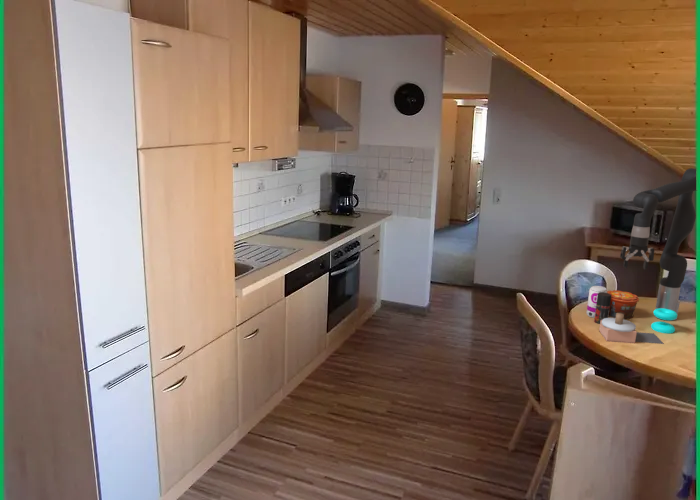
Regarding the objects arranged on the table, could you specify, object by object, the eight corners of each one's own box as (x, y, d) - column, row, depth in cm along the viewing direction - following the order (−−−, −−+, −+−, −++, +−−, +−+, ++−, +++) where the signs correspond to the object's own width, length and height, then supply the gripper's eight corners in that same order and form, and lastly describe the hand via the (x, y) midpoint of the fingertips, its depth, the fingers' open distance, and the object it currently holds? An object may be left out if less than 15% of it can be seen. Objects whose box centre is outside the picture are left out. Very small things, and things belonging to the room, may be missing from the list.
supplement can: (602, 320, 274) (606, 291, 270) (584, 316, 278) (588, 288, 274) (604, 315, 281) (608, 287, 277) (587, 311, 285) (591, 284, 281)
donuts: (657, 305, 267) (680, 311, 260) (653, 325, 269) (676, 330, 262) (651, 310, 259) (674, 316, 253) (647, 330, 262) (671, 336, 255)
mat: (653, 334, 257) (653, 333, 257) (663, 344, 246) (664, 343, 246) (626, 332, 259) (626, 331, 259) (635, 342, 247) (635, 341, 247)
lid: (629, 321, 257) (631, 310, 255) (640, 332, 243) (642, 321, 242) (597, 319, 258) (599, 307, 257) (606, 330, 245) (608, 318, 244)
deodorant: (608, 326, 266) (612, 296, 263) (595, 324, 268) (599, 295, 264) (605, 321, 272) (609, 292, 268) (592, 320, 273) (596, 291, 269)
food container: (642, 320, 275) (645, 300, 272) (609, 319, 275) (612, 299, 272) (627, 309, 290) (630, 290, 287) (596, 308, 290) (599, 289, 288)
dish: (625, 333, 257) (627, 321, 256) (634, 344, 246) (636, 331, 244) (598, 331, 259) (600, 320, 257) (606, 342, 247) (608, 329, 246)
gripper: (653, 234, 263) (647, 267, 267) (621, 232, 265) (616, 265, 269) (659, 237, 255) (653, 271, 259) (626, 236, 257) (621, 269, 261)
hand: (635, 268), depth 264 cm, fingers open, 8 cm apart
